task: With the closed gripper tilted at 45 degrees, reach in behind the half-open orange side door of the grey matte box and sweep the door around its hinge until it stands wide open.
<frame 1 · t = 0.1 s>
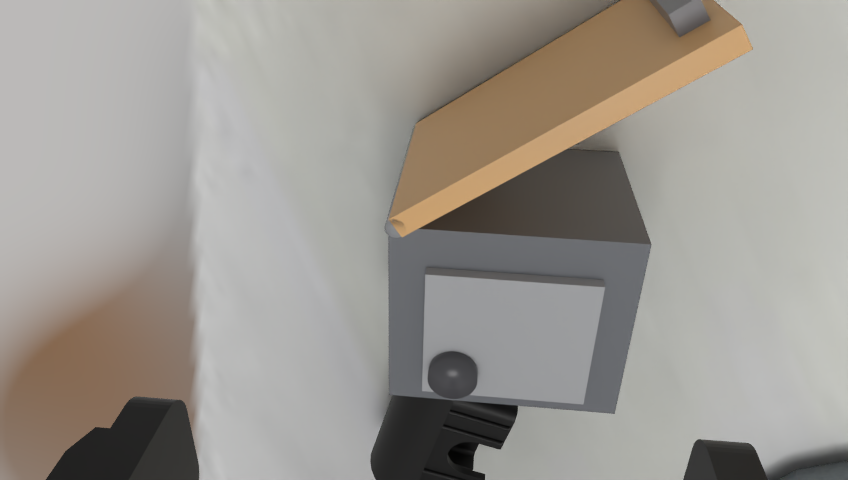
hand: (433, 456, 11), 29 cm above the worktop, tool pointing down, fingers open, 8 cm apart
grey matte box: (507, 223, 42), on the worktop
end cap: (445, 380, 49), on the worktop
side door: (536, 88, 32), point 6 cm above the worktop, hinge at 35.0°
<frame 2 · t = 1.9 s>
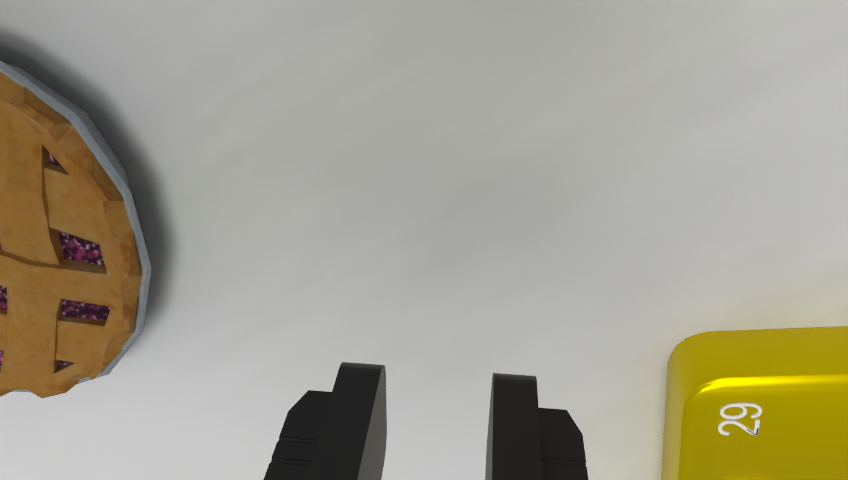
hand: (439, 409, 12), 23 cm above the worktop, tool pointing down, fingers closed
element tile: (792, 421, 42), on the worktop
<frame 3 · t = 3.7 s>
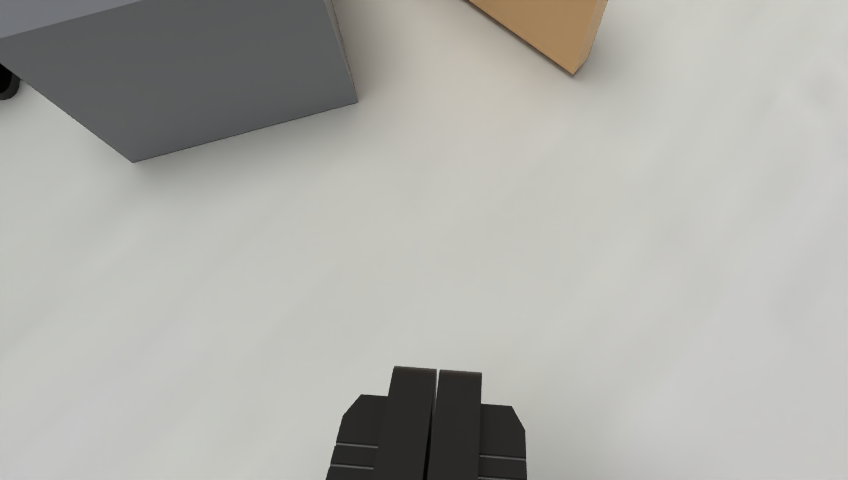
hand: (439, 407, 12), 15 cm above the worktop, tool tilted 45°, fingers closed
grey matte box: (220, 16, 32), on the worktop
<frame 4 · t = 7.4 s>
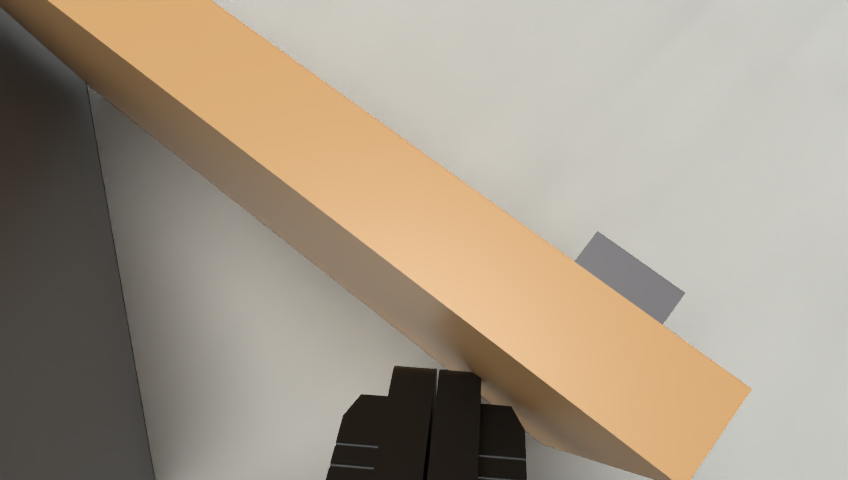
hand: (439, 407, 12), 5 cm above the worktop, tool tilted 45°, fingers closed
side door: (255, 131, 13), point 6 cm above the worktop, hinge at 36.0°, touching gripper
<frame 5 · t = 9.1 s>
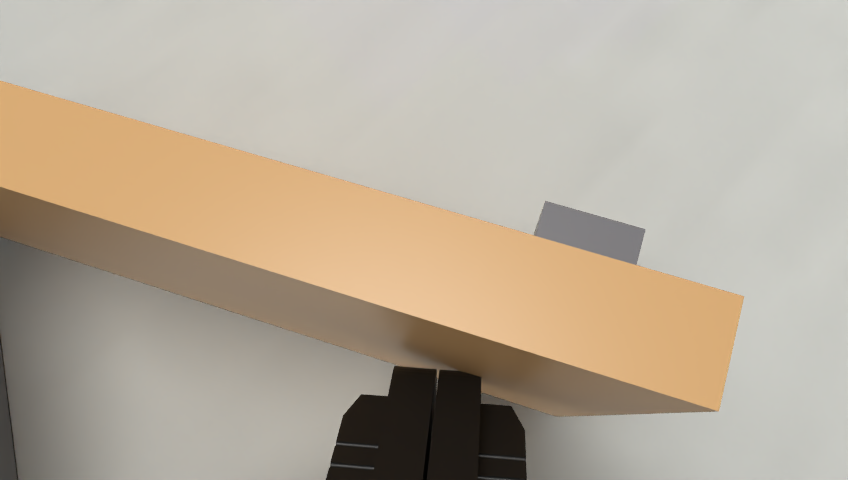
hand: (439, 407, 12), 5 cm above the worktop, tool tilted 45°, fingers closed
side door: (179, 220, 12), point 6 cm above the worktop, hinge at 56.5°, touching gripper
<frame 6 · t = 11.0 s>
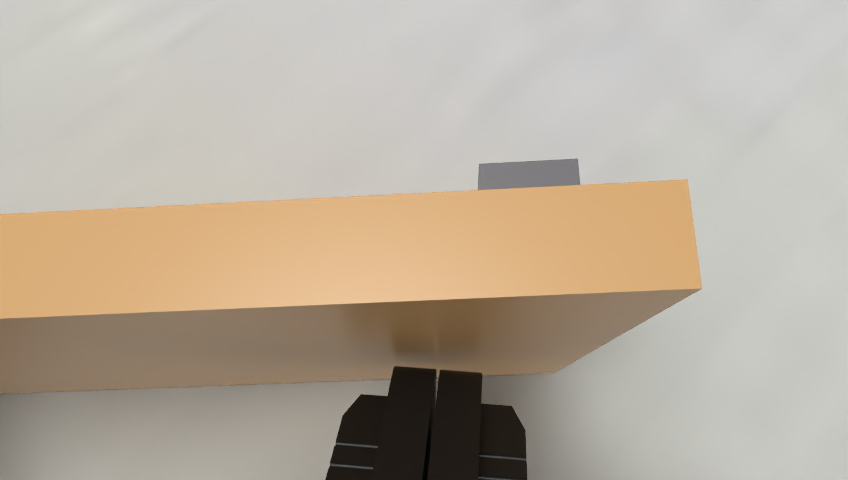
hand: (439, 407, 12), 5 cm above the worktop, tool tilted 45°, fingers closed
side door: (132, 309, 12), point 6 cm above the worktop, hinge at 76.4°
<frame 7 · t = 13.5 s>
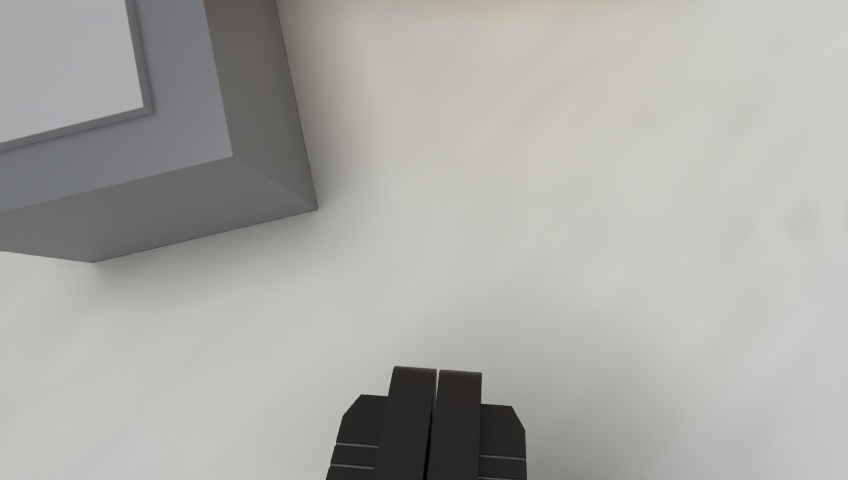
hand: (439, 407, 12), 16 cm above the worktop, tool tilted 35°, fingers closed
grey matte box: (179, 107, 31), on the worktop
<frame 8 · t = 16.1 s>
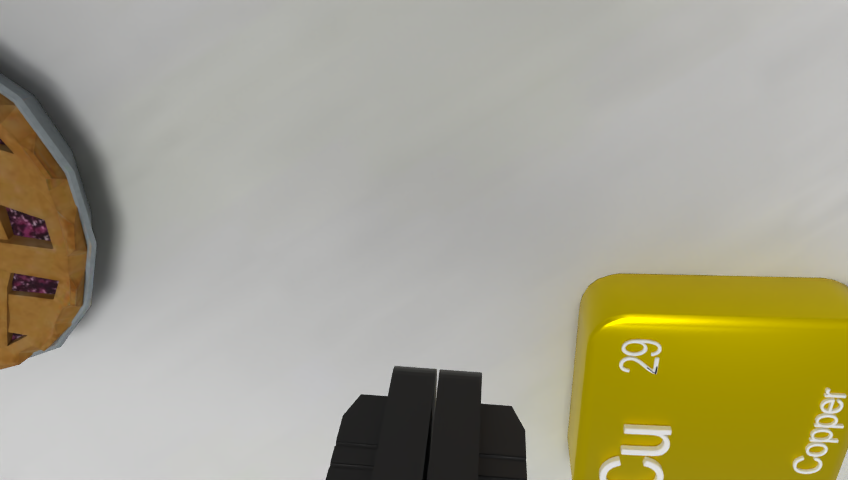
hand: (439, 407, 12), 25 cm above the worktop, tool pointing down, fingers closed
element tile: (696, 372, 43), on the worktop
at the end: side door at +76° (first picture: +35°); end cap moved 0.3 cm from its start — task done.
